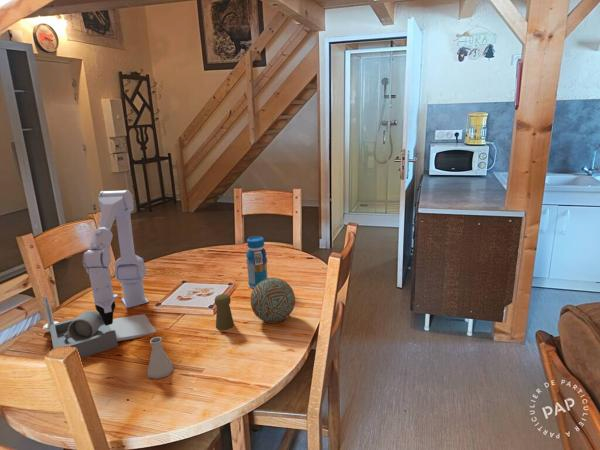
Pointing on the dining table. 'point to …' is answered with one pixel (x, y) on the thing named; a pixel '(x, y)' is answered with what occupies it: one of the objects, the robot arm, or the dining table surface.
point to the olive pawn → (223, 312)
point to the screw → (48, 314)
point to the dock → (103, 334)
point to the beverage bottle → (256, 261)
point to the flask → (158, 360)
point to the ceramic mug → (84, 326)
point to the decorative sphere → (272, 300)
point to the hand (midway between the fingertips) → (108, 324)
